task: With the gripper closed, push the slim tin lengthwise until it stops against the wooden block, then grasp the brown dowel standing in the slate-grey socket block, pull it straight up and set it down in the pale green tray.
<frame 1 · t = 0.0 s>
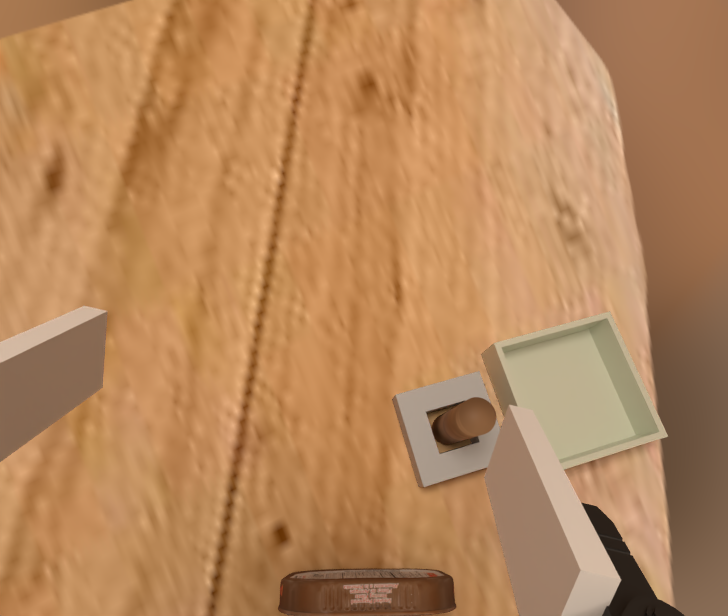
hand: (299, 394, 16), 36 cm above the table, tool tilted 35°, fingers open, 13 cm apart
socket block: (446, 429, 51), on the table
tray: (558, 396, 53), on the table
dowel: (460, 423, 45), in the socket block
tin: (364, 580, 46), on the table
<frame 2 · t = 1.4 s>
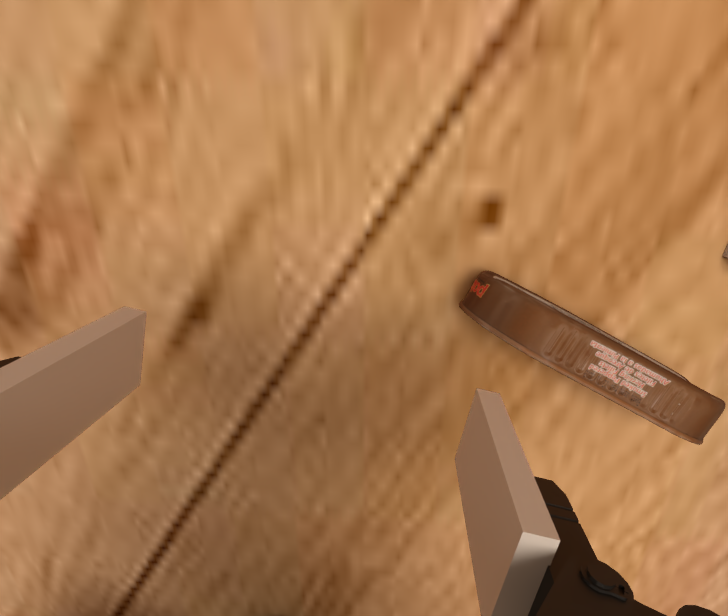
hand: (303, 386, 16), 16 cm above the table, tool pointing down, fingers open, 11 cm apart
tin: (563, 326, 32), on the table
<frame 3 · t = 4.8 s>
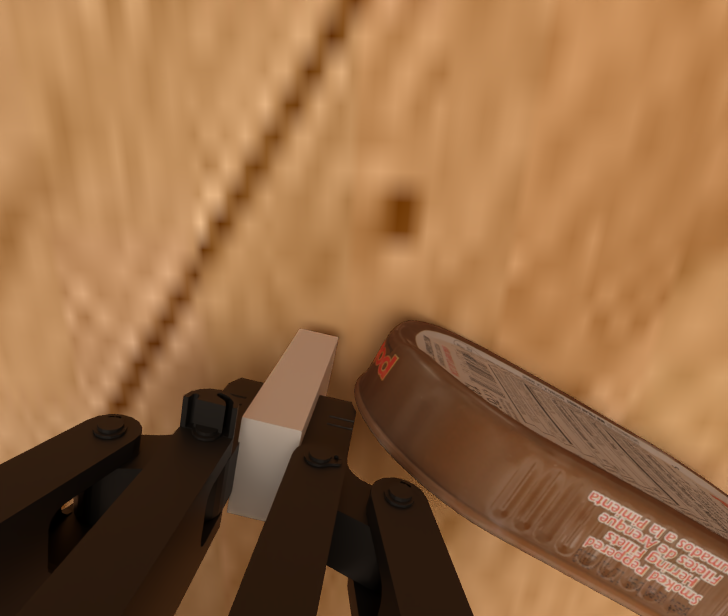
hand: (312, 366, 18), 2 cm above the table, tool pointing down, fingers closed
tin: (543, 407, 20), on the table, touching gripper
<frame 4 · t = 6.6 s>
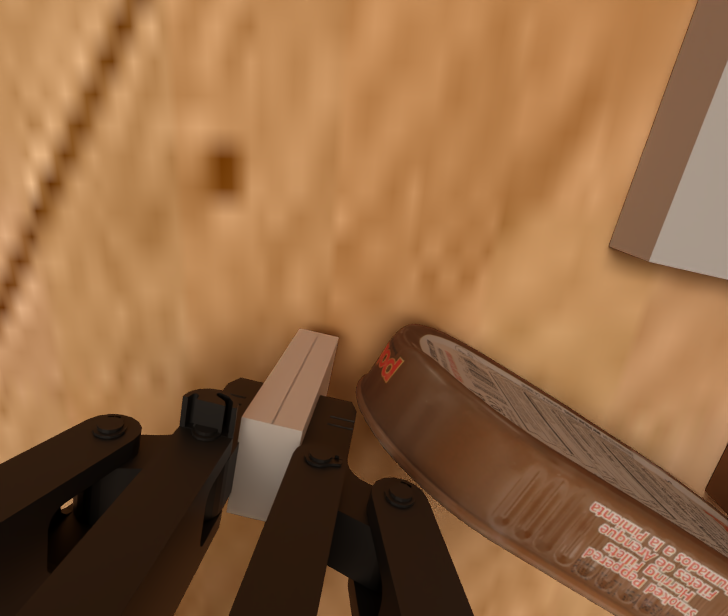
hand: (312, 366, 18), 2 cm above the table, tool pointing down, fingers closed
tin: (540, 417, 20), on the table, touching wooden block, gripper
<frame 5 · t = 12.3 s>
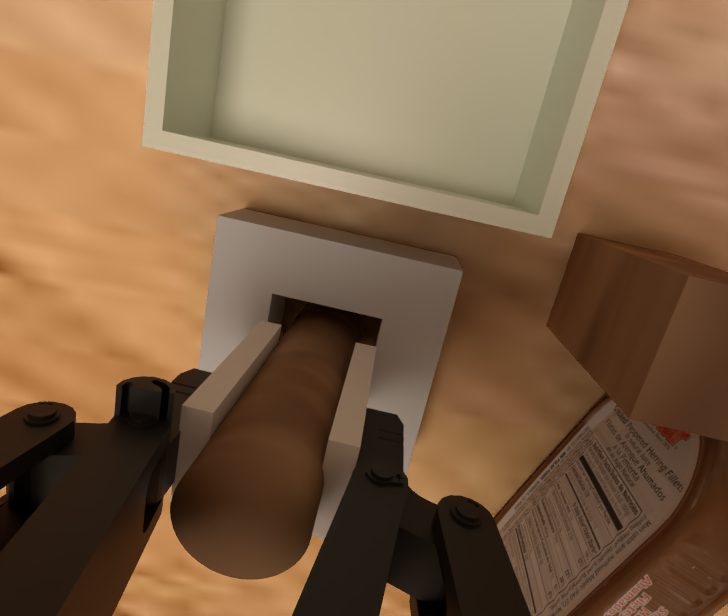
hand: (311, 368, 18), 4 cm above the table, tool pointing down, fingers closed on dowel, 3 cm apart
socket block: (328, 332, 22), on the table
tray: (395, 4, 18), on the table
dowel: (300, 392, 16), in the socket block, touching gripper
wooden block: (609, 291, 20), on the table
tin: (551, 477, 23), on the table
when the fingers open (6 cm above the table, at t = 16.6 s): dowel drops 2 cm, resting on tray.
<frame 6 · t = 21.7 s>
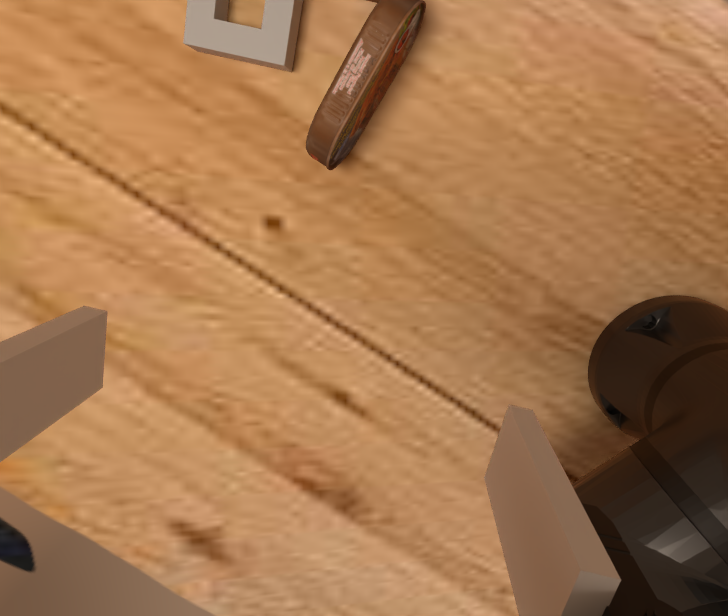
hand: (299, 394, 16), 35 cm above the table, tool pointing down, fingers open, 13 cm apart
socket block: (251, 7, 44), on the table
tin: (367, 91, 45), on the table
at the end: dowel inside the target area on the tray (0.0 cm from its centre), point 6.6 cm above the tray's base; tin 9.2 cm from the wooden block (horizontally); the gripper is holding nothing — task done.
